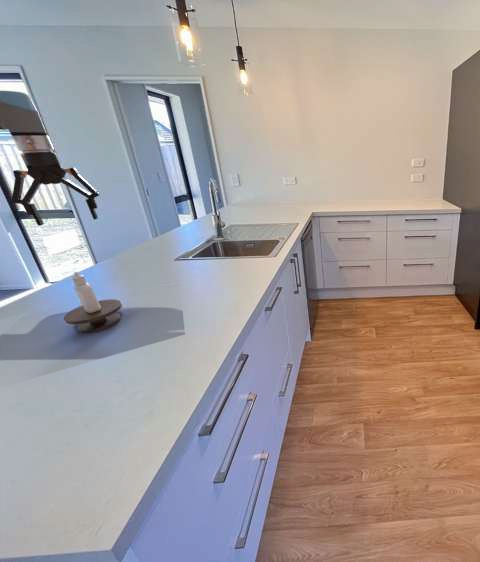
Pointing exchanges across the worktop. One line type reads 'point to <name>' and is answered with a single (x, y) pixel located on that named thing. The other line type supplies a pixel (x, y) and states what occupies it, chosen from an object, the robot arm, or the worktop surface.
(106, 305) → the walnut stand
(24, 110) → the robot arm
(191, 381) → the worktop surface
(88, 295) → the eye dropper bottle
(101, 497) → the worktop surface
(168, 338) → the worktop surface
